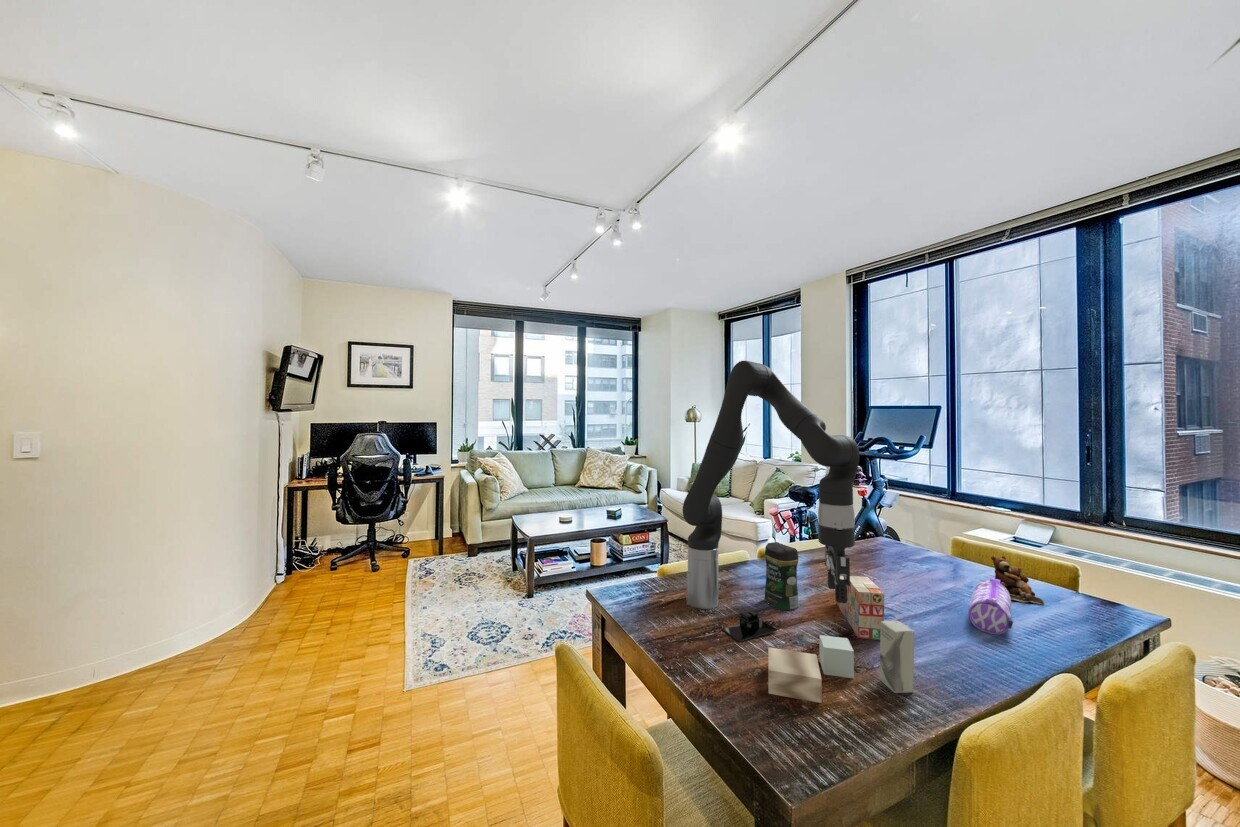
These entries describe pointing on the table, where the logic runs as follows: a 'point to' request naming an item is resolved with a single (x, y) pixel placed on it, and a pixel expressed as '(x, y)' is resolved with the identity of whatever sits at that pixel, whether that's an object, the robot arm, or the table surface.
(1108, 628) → the table surface
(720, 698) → the table surface
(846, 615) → the stack of blocks
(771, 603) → the coffee jar
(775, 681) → the oak block
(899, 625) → the box
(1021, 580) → the bear figurine
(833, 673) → the sage cube
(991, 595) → the pencil case
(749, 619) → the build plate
